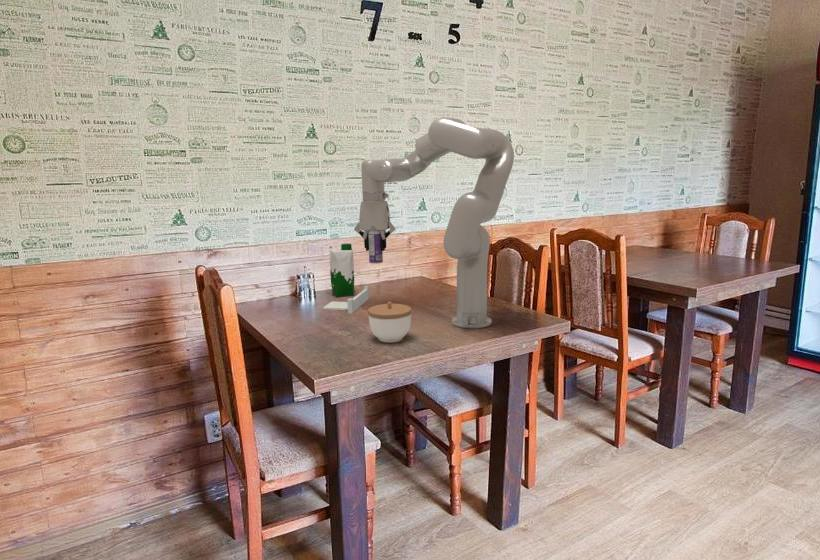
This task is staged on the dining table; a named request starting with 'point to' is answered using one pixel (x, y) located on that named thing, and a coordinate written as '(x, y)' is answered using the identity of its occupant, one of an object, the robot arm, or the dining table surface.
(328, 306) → the white pad
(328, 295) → the dining table surface
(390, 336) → the lidded bowl
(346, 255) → the milk carton
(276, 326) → the dining table surface
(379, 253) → the container
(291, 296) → the dining table surface
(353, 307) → the acrylic wall
